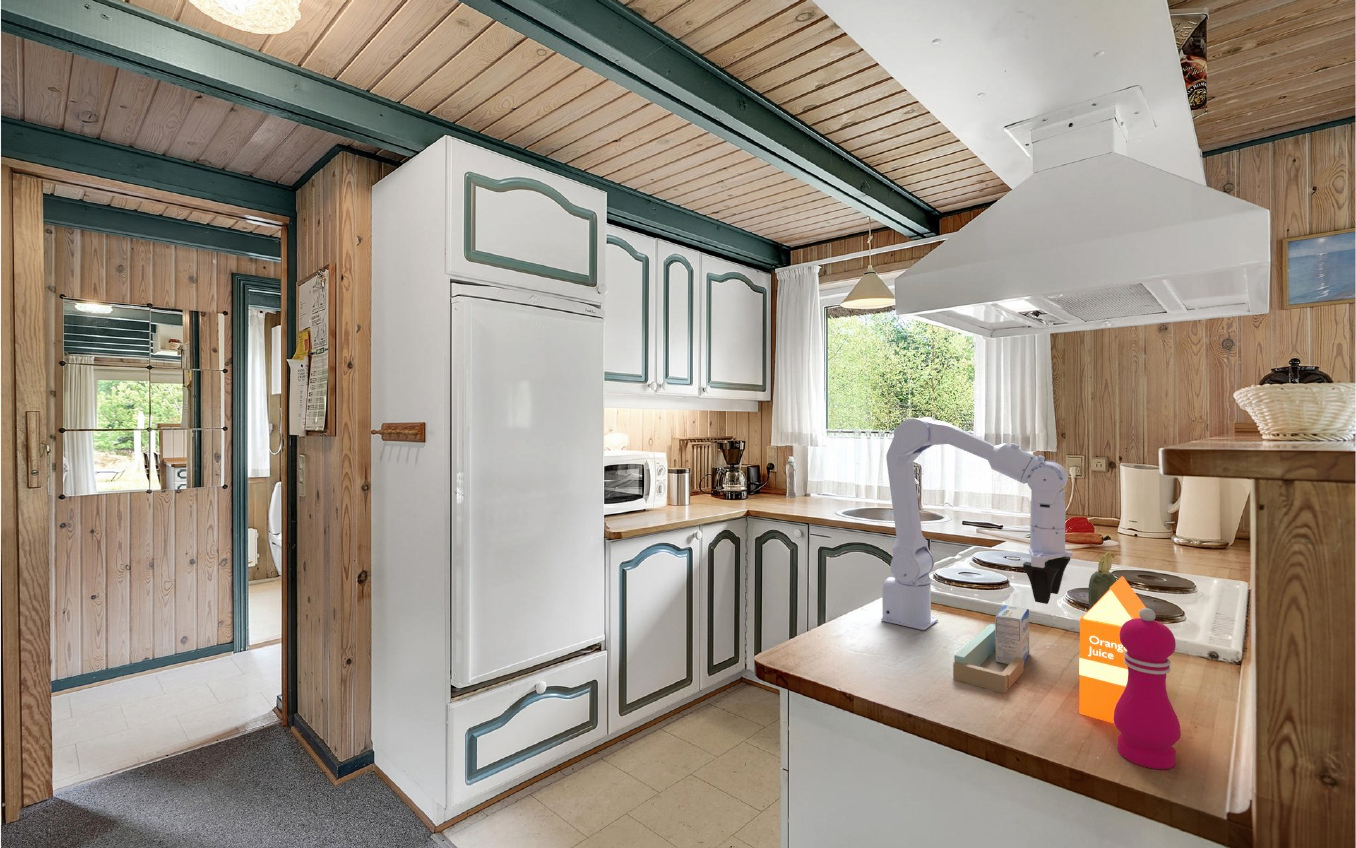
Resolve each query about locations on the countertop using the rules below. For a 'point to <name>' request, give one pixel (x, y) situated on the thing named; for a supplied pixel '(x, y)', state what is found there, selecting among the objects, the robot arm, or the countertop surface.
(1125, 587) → the orange juice
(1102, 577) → the vegetable
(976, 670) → the board
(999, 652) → the medicine box
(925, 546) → the robot arm
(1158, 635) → the pepper mill
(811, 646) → the countertop surface
